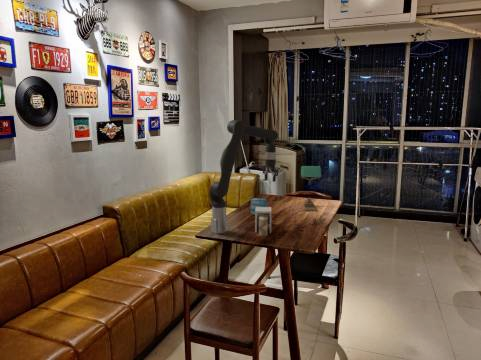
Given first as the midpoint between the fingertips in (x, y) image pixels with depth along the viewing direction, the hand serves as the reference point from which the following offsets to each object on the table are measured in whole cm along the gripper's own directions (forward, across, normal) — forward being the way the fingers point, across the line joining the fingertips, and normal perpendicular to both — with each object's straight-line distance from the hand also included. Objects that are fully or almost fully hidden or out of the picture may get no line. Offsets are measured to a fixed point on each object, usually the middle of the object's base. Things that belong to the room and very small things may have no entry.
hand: (270, 180), depth 258 cm
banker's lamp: (+29, -3, +46) cm, 55 cm away
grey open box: (+29, +9, -13) cm, 33 cm away
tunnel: (+29, +16, -20) cm, 39 cm away
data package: (+29, -16, +3) cm, 34 cm away
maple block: (+29, +20, -23) cm, 43 cm away
